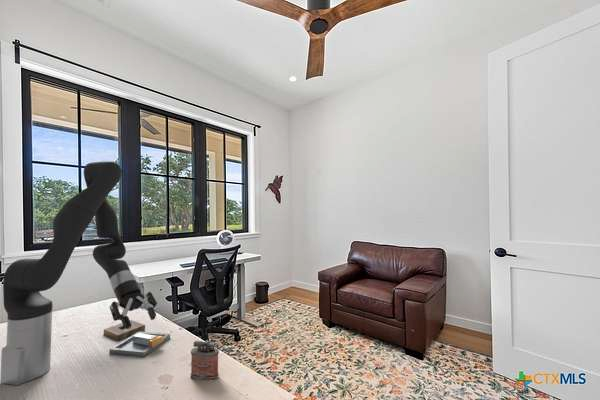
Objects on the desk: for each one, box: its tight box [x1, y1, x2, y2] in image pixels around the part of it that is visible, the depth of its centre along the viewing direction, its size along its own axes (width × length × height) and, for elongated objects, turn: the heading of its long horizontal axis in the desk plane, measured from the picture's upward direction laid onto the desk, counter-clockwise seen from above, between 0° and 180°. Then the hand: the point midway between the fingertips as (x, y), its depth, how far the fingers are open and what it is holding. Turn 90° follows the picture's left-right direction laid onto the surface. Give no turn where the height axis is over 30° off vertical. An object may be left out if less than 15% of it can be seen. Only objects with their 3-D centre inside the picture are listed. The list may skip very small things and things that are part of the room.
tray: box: [109, 331, 171, 358], centre depth 94 cm, size 13×13×2 cm
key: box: [133, 333, 163, 347], centre depth 93 cm, size 4×2×12 cm
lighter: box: [190, 339, 220, 382], centre depth 76 cm, size 8×3×10 cm, turn 84°
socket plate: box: [103, 319, 146, 341], centre depth 104 cm, size 10×10×2 cm
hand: (142, 322), depth 94 cm, fingers open, 8 cm apart
